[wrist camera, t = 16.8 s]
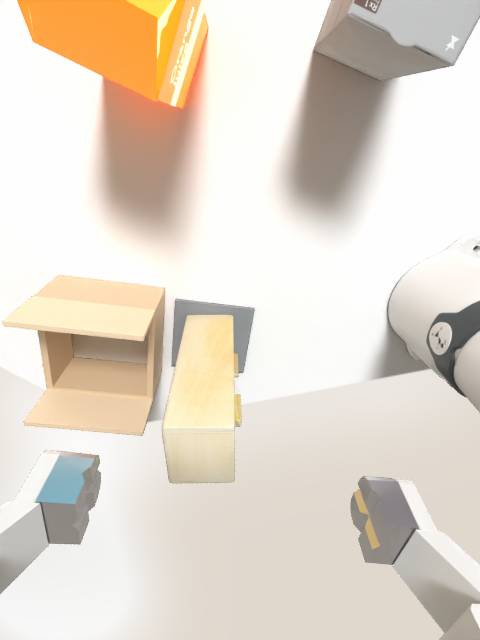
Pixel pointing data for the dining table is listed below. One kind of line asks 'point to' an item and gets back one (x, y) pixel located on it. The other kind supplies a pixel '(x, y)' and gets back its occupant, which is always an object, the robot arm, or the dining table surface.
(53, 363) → the carton
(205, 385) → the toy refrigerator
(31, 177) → the dining table surface
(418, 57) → the skincare box
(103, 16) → the orange juice
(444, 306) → the robot arm
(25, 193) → the dining table surface
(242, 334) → the mat
